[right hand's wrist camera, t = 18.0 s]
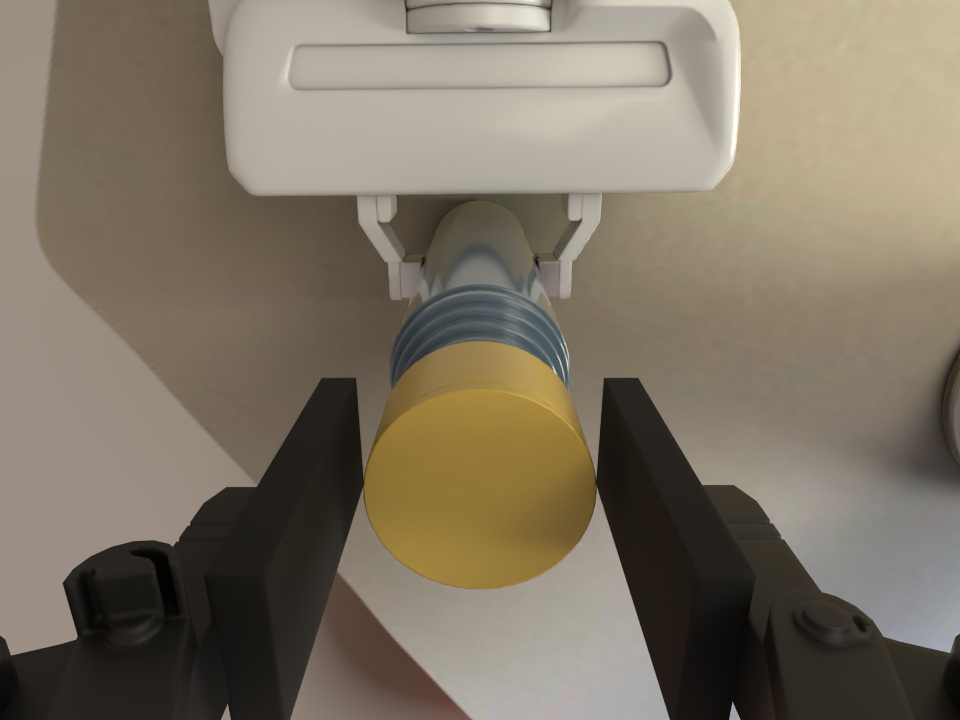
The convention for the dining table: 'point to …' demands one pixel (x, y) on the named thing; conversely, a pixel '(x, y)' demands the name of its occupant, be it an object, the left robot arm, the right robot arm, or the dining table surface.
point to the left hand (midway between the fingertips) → (481, 296)
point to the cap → (479, 468)
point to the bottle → (479, 292)
